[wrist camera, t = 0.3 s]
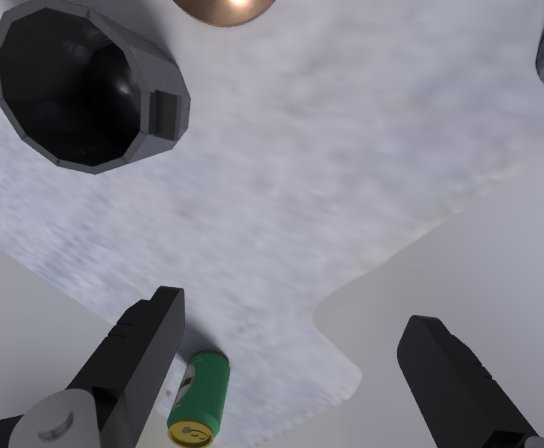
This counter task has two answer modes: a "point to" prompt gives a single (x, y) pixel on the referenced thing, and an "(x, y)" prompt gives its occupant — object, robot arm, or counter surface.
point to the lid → (224, 10)
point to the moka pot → (541, 62)
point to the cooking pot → (87, 87)
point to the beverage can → (199, 401)
